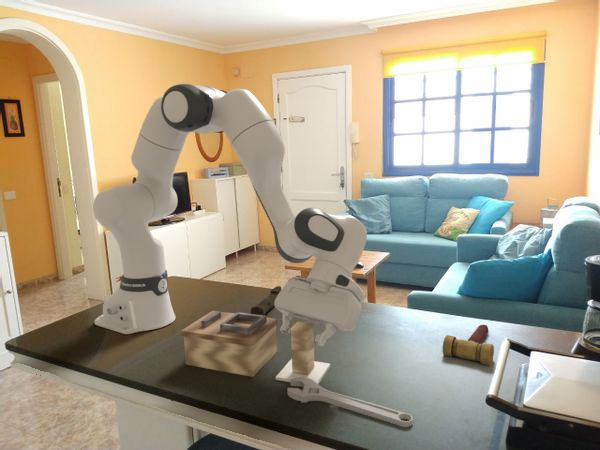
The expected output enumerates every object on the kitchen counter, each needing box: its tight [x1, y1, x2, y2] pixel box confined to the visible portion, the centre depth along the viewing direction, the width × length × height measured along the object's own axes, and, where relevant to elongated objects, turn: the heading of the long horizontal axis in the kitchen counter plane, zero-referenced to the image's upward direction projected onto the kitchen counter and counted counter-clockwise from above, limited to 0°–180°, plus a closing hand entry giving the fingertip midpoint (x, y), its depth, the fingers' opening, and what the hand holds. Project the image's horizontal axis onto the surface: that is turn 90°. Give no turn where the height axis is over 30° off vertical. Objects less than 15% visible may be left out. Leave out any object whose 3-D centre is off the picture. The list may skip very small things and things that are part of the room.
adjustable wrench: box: [287, 377, 414, 428], centre depth 82 cm, size 25×6×2 cm, turn 54°
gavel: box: [442, 324, 495, 366], centre depth 105 cm, size 21×5×10 cm
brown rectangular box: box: [180, 310, 278, 377], centre depth 101 cm, size 18×13×10 cm
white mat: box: [275, 358, 331, 385], centre depth 94 cm, size 9×9×1 cm
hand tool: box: [250, 285, 282, 316], centre depth 133 cm, size 19×4×5 cm, turn 158°
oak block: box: [290, 321, 315, 376], centre depth 94 cm, size 4×4×10 cm
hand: (300, 338), depth 93 cm, fingers open, 8 cm apart
